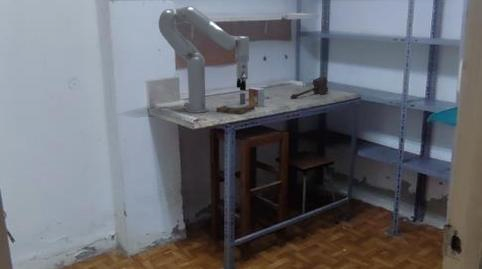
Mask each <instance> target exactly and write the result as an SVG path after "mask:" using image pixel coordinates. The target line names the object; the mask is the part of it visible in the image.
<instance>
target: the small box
mask: <svg viewBox="0 0 482 269" xmlns="http://www.w3.org/2000/svg"><path fill="white" fill-rule="evenodd" d="M248 105H251V106H255V108H262V107H264V106H265V88H260V87H248Z"/></svg>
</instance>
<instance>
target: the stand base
mask: <svg viewBox="0 0 482 269" xmlns="http://www.w3.org/2000/svg"><path fill="white" fill-rule="evenodd" d="M255 109H256V107H255V106H251V105H249V104H246V108H242V109H229V108H226V107H225V105H222V106H219V107H216V112H217V113H226V114H232V115H233V114H234V115H241V114H242V115H244V114H246V112H247V113H249V112H251V110H252V111H255ZM248 111H249V112H248ZM243 113H244V114H243Z"/></svg>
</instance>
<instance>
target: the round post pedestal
mask: <svg viewBox="0 0 482 269" xmlns="http://www.w3.org/2000/svg"><path fill="white" fill-rule="evenodd" d="M246 105H247V103H246V93H244V92H240V93H239V101H233V102H226V103H225V104H224V106H225V107H226V108H229V109H242V108H246Z"/></svg>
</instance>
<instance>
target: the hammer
mask: <svg viewBox="0 0 482 269" xmlns="http://www.w3.org/2000/svg"><path fill="white" fill-rule="evenodd" d="M327 82H328V80H327V77H326V76H325V77H323V76H318V78H314V79H313V80H312V85H313V88H311V89H307V90H304V91H302V92H299V93H293V94H292V95H290V99H293V98H294V99H296V98H298V97H300V96H302V95H306V94H308V93H311V92H313V94H314V95H318V94H320V95H319V96H322V95H325V94H326V93H329V87H328V85H327Z"/></svg>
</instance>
